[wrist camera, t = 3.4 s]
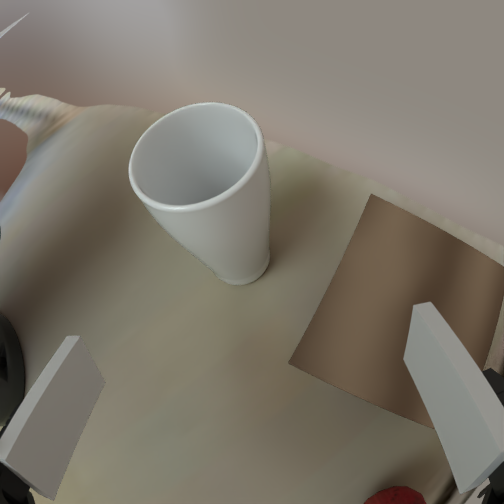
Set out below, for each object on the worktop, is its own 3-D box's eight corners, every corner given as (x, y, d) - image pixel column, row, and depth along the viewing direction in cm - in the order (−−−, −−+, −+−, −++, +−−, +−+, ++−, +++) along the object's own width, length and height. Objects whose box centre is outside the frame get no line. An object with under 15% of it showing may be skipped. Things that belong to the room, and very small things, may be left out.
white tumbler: (195, 237, 29) (121, 129, 15) (263, 213, 29) (239, 85, 15) (214, 306, 26) (134, 235, 12) (290, 279, 26) (289, 178, 12)
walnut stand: (288, 363, 24) (288, 362, 16) (350, 240, 27) (370, 193, 19) (410, 419, 20) (454, 436, 13) (459, 296, 24) (508, 269, 16)
